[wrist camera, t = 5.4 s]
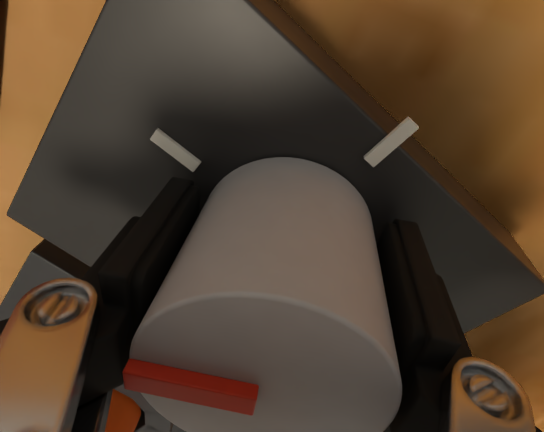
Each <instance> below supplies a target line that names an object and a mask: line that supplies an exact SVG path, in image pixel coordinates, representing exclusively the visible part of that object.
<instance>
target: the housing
mask: <svg viewBox="0 0 544 432" xmlns="http://www.w3.org/2000/svg"><path fill="white" fill-rule="evenodd" d="M90 268H91V267H90V266H88V265H87V264H85V263H83V262H82V261H80V260H79V259H77V258H75V257H74V256H72V255H70V254H69V253H67V252H66V251H64V250H62V249H61V248H59V247H57V246H56V245H54V244H53V243H51V242H49V241H48V240H46V239H44V240H43V241H42V242H41V243H39V244H38V245H37V246H36V247H35V248H34V249H33V250H32V251H31V252H30V254H29V256H28V258H27V259H26V261H25V263H24V265H23V266H22V268H21V270H20V272H19V273H18V275H17V277H16V279H15V280H14V282H13V284H12V286H11V288H10V289H9V291H8V293H7V295H6V296H5V298H4V300H3V302H2V303H1V305H0V321H2V320H5V319H8V318H10V316H11V314H12V312H13V310H14V308H15V306H16V304H17V303H18V302H19V300H20V299H21V298H22V296H23V295H25V294H26V293H27V292H28V291H30V290H31V289H32V288H34V287H36V286H38V285H40V284H42V283H44V282H47V281H51V280H54V279H60V278H77V279H82V278H83V276H84V275H85V274H86V273H87V271H88V270H89V269H90ZM115 390H117V391H118V392H120V393H122V394H124V395H126V396H128V397H130V398H132V399H133V400H134V401H135V402H136V404H137V405H138V406H139V407H140V408H141V416H140V419H139V421H138V423H137V426H136V428H135V430H134V432H186V431H184V430H182V429H181V428H179V427H177V426H176V425H174V424H173V423H171V422H170V421H168V420H167V419H166V418H165V417H163V416H162V415H161V414H160V413H158V412H157V411H156V410H155V409H154V408H153V407H152V406H151V405H150V404H149V403H148V401H147V400H146V399H145V398H144V397H143V395H142V394H141V392H136V391H131V390H126V389H125V388H124V383H123V384H122V385H121V386H119V387H117V388H115Z"/></svg>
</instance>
